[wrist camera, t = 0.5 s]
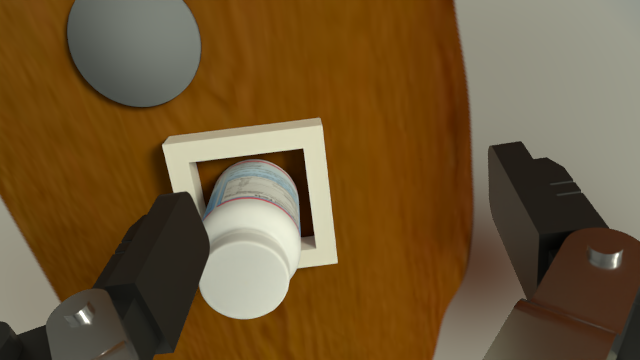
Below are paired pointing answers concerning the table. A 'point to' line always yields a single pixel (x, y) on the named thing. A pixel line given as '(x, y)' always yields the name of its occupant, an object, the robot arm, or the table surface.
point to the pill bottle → (251, 239)
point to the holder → (257, 141)
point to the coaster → (135, 48)
